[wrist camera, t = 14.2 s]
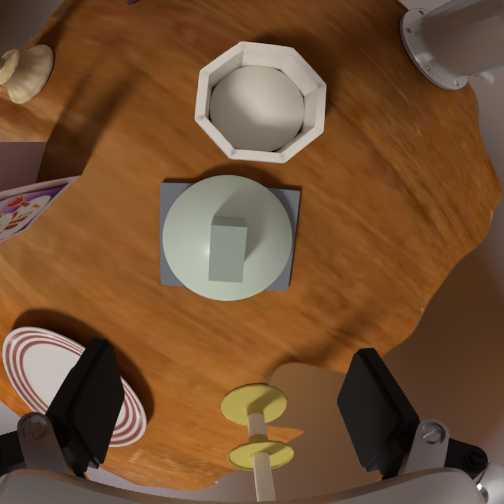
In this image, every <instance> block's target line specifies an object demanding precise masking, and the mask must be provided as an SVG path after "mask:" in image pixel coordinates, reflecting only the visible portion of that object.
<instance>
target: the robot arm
mask: <svg viewBox="0 0 504 504" xmlns="http://www.w3.org/2000/svg"><path fill="white" fill-rule="evenodd" d="M400 34H401V39H402V42H403V44H404V47H405V49H406V51H407V53H408V55H409V57H410V58H411V60H412V61H413V63H414V64H415V65H416V67H417V68H418V69H419V70H420V72H421V73H422V74H423V75H424V76H425V77H426V78H427V79H429V80H430V81H431V82H432V83H434V84H435V85H437V86H439V87H441V88H443V89H446V90H456V89H460V88H462V87H464V86H465V85H466V83H467V82H468V79H469V76H473V75H474V76H476V77H480V78H481V79H483V80H484V81H485V82H487V83H488V84H492V83H493V82H494V75H493V74H492V73H490V72H489V71H494V70H500V69H504V0H452V1H450V2H448V3H446V4H444V5H442V6H440V7H438V8H436V9H434V10H433V11H429V10H425V9H421V8H415V9H411V10H409V11H408V12H406V13H405V14H404V15H403V16H402V18H401V21H400ZM124 399H125V391H124V387H123V384H122V380H121V377H120V373H119V369H118V366H117V362H116V358H115V354H114V350H113V346H112V344H109V342H108V340H106V339H101V338H95V337H94V338H92V339H91V341H90V342H89V344H88V345H87V347H86V348H85V350H84V352H83V353H82V355H81V356H80V358H79V360H78V361H77V363H76V364H75V366H74V367H72V368H71V370H70V371H69V373H68V374H67V376H66V378H65V380H64V381H63V383H62V385H61V386H60V388H59V390H58V392H57V393H56V395H55V397H54V399H53V400H52V402H51V404H50V406H49V408H48V409H47V411H46V413H45V415H44V414H42V413H40V412H29V413H27V414H25V415H23V416H22V417H21V419H20V420H19V421H18V425H17V431H14V432H10V433H7V434H3V435H0V504H504V468H502V467H501V466H499V465H498V464H496V463H494V462H493V461H490V462H489V463H488V459H487V455H486V453H485V452H484V451H483V450H482V449H481V448H479V447H477V446H473V445H470V444H467V443H463V442H460V441H457V440H454V439H451V438H449V432H448V430H447V428H446V426H445V425H444V424H443V423H441V422H440V421H437V420H432V419H428V420H425V421H422V422H420V420H419V417H418V415H417V413H416V412H415V410H414V409H413V407H412V405H411V404H410V402H409V401H408V399H407V397H406V396H405V394H404V393H403V391H402V390H401V388H400V386H399V385H398V383H397V382H396V380H395V379H394V377H393V376H392V375H391V373H390V371H389V370H388V368H387V367H386V365H385V364H384V362H383V361H382V359H381V358H380V356H379V355H378V353H377V352H376V350H375V349H374V348H363V349H359V350H358V352H357V353H355V354H354V356H353V359H352V361H351V364H350V367H349V370H348V372H347V375H346V378H345V381H344V383H343V385H342V388H341V390H340V393H339V396H338V399H337V404H338V407H339V409H340V412H341V415H342V417H343V419H344V422H345V424H346V427H347V430H348V432H349V435H350V438H351V440H352V443H353V445H354V448H355V451H356V453H357V456H358V458H359V461H360V464H361V465H362V466H363V467H365V468H366V470H367V472H371V471H374V470H378V469H379V471H380V473H381V475H380V477H379V479H378V481H377V482H375V483H372V484H368V485H364V486H360V487H356V488H352V489H348V490H343V491H338V492H334V493H328V494H323V495H317V496H311V497H303V498H296V499H287V500H275V501H259V502H213V501H197V500H186V499H177V498H169V497H162V496H156V495H150V494H145V493H139V492H135V491H130V490H125V489H121V488H116V487H113V486H109V485H104V484H101V483H98V482H94V481H91V480H89V479H88V477H87V475H86V473H85V472H86V471H87V467H92V468H95V469H98V467H99V464H103V462H104V460H105V457H106V454H107V450H108V447H109V444H110V441H111V438H112V434H113V431H114V428H115V425H116V422H117V419H118V416H119V413H120V410H121V408H122V405H123V402H124Z"/></svg>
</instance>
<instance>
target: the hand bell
mask: <svg viewBox="0 0 504 504" xmlns="http://www.w3.org/2000/svg"><path fill="white" fill-rule="evenodd" d="M52 66H53V52H52V50H51V48H50V47H48V46H47V45H37V46H34V47H32V48H30V49H28V50H18V49H12V50H10V51H8V52H7V53H5V54H4V56H3V57H0V85H2V86H4V87H6V88H7V89H8V94H9V97H10V98H11V100H12V101H13V102H14V103H17V104H23V103H26V102H28V101H30V100H31V99H32V98H34V97H35V96H36V95H37V94H38V93H39V92H40V90H41V89H42V88H43V86H44V85H45V83H46V81H47V79H48V77H49V75H50V73H51V70H52Z"/></svg>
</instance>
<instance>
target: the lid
mask: <svg viewBox="0 0 504 504" xmlns="http://www.w3.org/2000/svg"><path fill="white" fill-rule="evenodd" d="M291 247H292V229H291V224H290V220H289V218H288V215H287V213H286V211H285V209H284V207H283V205H282V204H281V202H280V201H279V200H278V198H277V197H276V196H275V195H274V194H273V193H272V192H271V191H269V190H268V189H267V188H266V187H264V186H263V185H261V184H259V183H258V182H256V181H253V180H251V179H248V178H245V177H241V176H235V175H220V176H214V177H210V178H206V179H204V180H202V181H199V182H197V183H196V184H194V185H192V186H191V187H189V188H188V189H187V190H185V191H184V192H183V193H182V194H181V195H180V196H179V197H178V198H177V199H176V201H175V202H174V203H173V205H172V206H171V208H170V210H169V212H168V214H167V217H166V220H165V223H164V228H163V249H164V253H165V257H166V260H167V262H168V264H169V266H170V268H171V270H172V271H173V273H174V274H175V276H176V277H177V278H178V279H179V280H180V281H181V282H182V283H183V284H184V285H185V286H186V287H188V288H189V289H190V290H192V291H193V292H195V293H197V294H199V295H202V296H204V297H207V298H211V299H215V300H223V301H232V300H240V299H244V298H248V297H250V296H253V295H255V294H257V293H259V292H261V291H263V290H264V289H266V288H267V287H268V286H269V285H271V284H272V283H273V282H274V281H275V280H276V279H277V278H278V276H279V275H280V274H281V272H282V271H283V269H284V267H285V265H286V263H287V261H288V259H289V256H290V252H291Z"/></svg>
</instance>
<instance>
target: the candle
mask: <svg viewBox="0 0 504 504" xmlns="http://www.w3.org/2000/svg"><path fill="white" fill-rule="evenodd" d="M286 405H287V398H286V396H285V395H284V393H283V392H282V391H281V390H279V389H277V388H276V387H274V386H270V385H264V384H250V385H244V386H241V387H238V388H235V389H233V390H232V391H230V392H229V393H228V394H226V395H225V396H224V398H223V400H222V402H221V409H222V413H223V414H224V415H225V416H226V417H227V418H228V419H229V420H231V421H233V422H235V423H237V424H243V425H248V433H249V443H245V444H241V445H239V446H238V447H236V448H234V449H232V450H231V452H230V453H229V454H228V456H227V458H228V463H229V464H231V465H232V466H233V467H235V468H238V469H241V470H245V471H254V476H255V485H256V493H257V502H259V501H275V500H276V497H275V491H274V485H273V478H272V473H271V469H274V468H278V467H280V466H282V465H284V464H286V463H287V462H288V461H289V460H291V458H292V457H293V453H294V451H293V449H292V448H291V447H290V446H289V445H288V444H286V443H283V442H280V441H271V440H268V438H267V431H266V425H265V423H267V422H270V421H273V420H274V419H275V418H277V417H279V416H280V415H281V414H282V413H283V412H284V410H285V409H286Z"/></svg>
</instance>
